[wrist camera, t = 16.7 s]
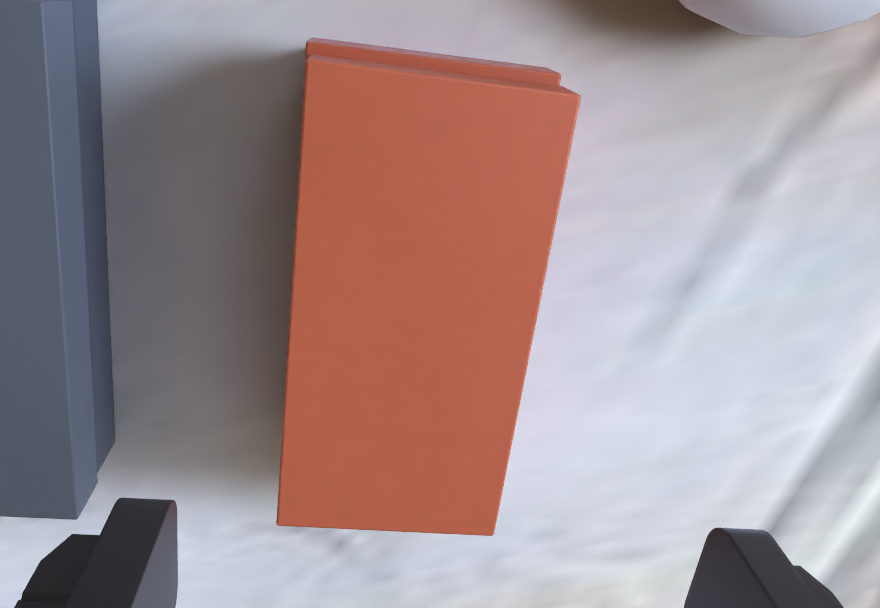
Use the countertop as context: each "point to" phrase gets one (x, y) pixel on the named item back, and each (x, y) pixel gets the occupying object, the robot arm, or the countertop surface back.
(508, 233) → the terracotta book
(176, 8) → the countertop surface
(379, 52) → the orange-red flat block
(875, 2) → the donut
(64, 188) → the grey rectangular block
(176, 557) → the robot arm
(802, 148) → the countertop surface
